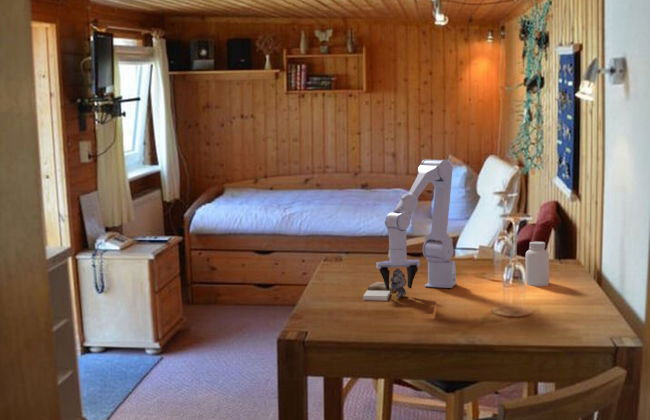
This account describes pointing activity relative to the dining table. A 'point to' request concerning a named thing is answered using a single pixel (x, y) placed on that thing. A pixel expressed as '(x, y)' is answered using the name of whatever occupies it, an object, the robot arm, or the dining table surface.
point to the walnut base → (380, 287)
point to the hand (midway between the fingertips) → (398, 288)
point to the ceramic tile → (376, 295)
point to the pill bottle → (537, 265)
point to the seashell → (398, 282)
